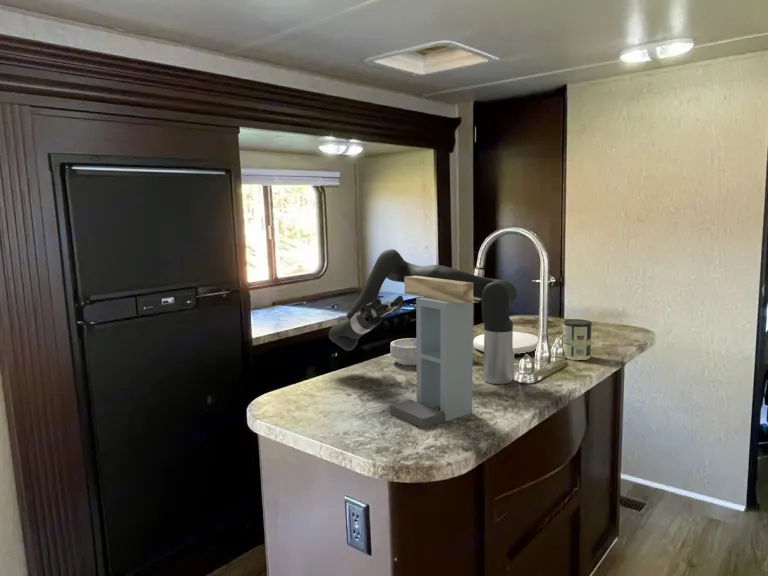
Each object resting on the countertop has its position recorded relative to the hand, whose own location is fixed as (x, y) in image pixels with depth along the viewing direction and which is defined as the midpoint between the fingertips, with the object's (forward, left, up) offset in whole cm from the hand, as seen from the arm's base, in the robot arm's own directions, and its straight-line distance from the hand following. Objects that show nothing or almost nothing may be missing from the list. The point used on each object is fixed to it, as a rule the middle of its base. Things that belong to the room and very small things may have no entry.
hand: (391, 299), depth 173 cm
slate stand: (0, +24, -29) cm, 38 cm away
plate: (-70, -15, -29) cm, 77 cm away
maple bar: (0, +21, +3) cm, 21 cm away
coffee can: (-80, +11, -29) cm, 86 cm away
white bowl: (-26, -23, -29) cm, 45 cm away
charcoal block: (+9, +23, -29) cm, 38 cm away
